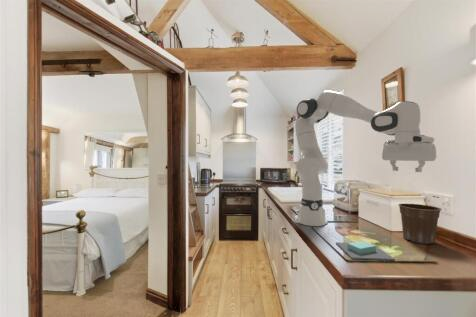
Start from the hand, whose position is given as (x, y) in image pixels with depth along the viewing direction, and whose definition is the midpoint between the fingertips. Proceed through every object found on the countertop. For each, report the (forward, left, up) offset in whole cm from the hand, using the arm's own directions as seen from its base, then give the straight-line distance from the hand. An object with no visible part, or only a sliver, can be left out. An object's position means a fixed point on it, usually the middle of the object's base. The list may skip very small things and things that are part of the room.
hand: (406, 171), depth 101 cm
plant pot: (-12, +14, -33) cm, 38 cm away
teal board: (+3, -16, -31) cm, 36 cm away
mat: (+5, -20, -33) cm, 39 cm away
